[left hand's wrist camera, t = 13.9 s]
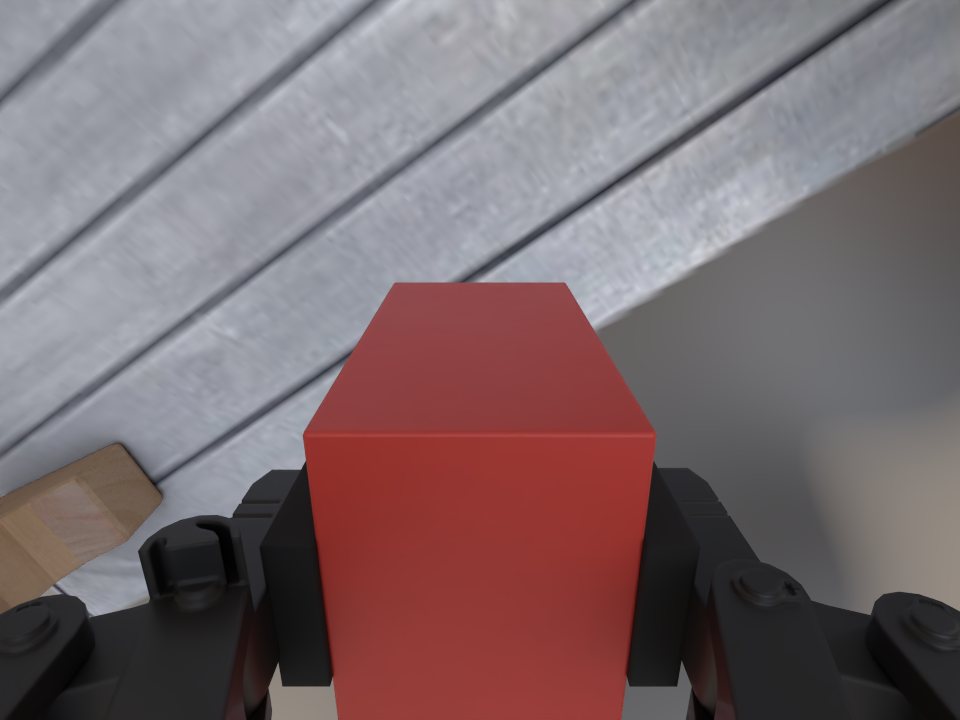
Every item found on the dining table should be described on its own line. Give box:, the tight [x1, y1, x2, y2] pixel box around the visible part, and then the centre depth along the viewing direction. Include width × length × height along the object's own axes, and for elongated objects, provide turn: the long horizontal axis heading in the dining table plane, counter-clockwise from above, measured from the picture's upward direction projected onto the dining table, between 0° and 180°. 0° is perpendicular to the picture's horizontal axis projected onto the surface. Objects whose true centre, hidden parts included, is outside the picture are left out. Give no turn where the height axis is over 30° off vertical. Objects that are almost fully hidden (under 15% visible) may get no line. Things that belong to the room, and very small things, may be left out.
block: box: [303, 283, 656, 720], centre depth 13 cm, size 5×6×9 cm
